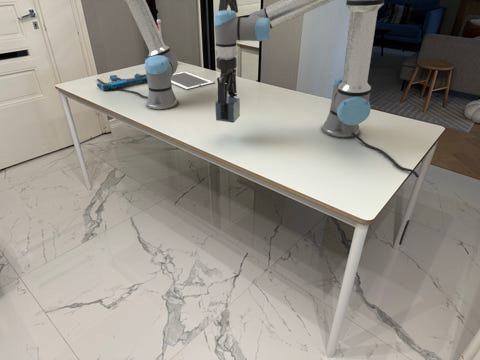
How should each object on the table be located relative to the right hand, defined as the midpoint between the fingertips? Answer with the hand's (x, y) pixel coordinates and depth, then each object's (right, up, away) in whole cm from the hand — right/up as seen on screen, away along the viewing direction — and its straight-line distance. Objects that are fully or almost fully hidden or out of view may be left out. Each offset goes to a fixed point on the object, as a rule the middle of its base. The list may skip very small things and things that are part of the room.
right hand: (228, 115), depth 138 cm
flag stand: (-50, +56, +105) cm, 129 cm away
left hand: (-1, +48, +30) cm, 57 cm away
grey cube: (0, -1, +1) cm, 1 cm away
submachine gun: (-66, +34, +71) cm, 103 cm away
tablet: (-29, +36, +75) cm, 88 cm away
